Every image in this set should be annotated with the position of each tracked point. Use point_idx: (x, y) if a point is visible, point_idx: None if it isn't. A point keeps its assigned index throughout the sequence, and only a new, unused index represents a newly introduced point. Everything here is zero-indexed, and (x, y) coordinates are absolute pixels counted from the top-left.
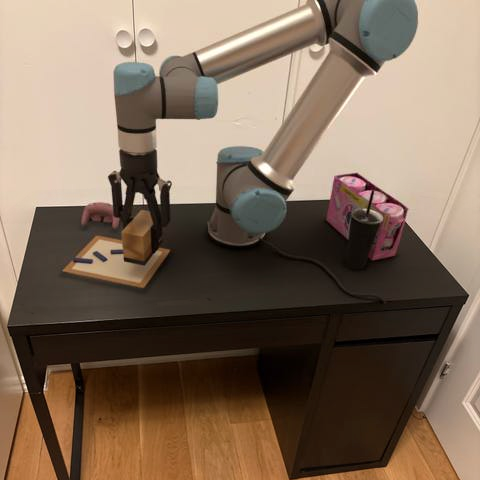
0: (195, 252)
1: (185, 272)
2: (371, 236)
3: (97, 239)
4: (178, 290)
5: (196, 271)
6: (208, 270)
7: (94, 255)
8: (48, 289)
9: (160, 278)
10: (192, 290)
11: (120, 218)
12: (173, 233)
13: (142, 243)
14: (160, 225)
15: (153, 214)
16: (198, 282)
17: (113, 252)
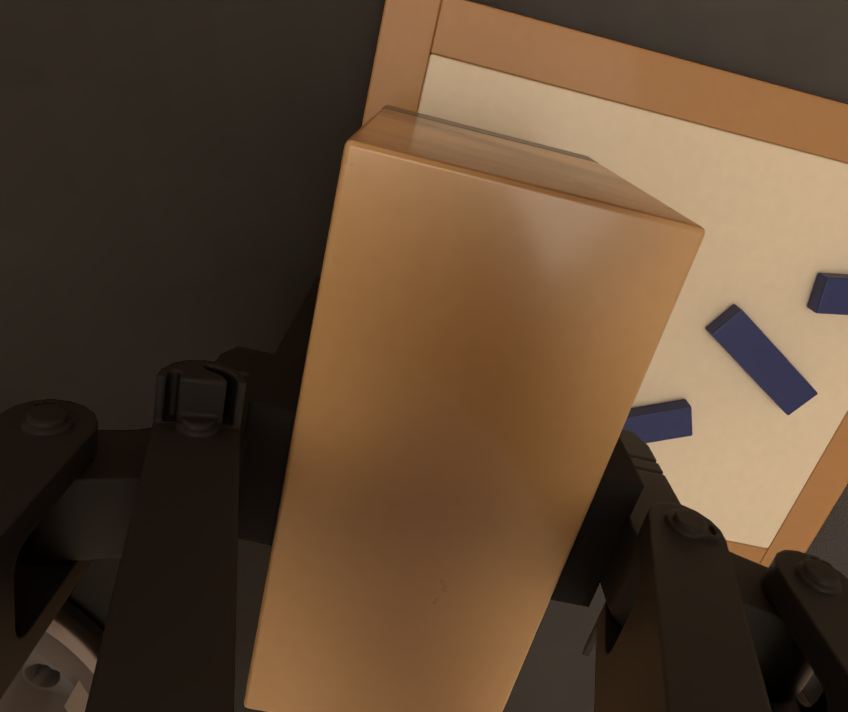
0: None
1: (152, 279)
2: None
3: (778, 546)
4: (138, 42)
5: (82, 298)
6: (6, 318)
7: (798, 373)
8: None
9: (306, 188)
10: (35, 53)
11: (731, 554)
12: None
13: (373, 131)
14: (140, 441)
15: (168, 559)
16: (26, 166)
17: (670, 408)
